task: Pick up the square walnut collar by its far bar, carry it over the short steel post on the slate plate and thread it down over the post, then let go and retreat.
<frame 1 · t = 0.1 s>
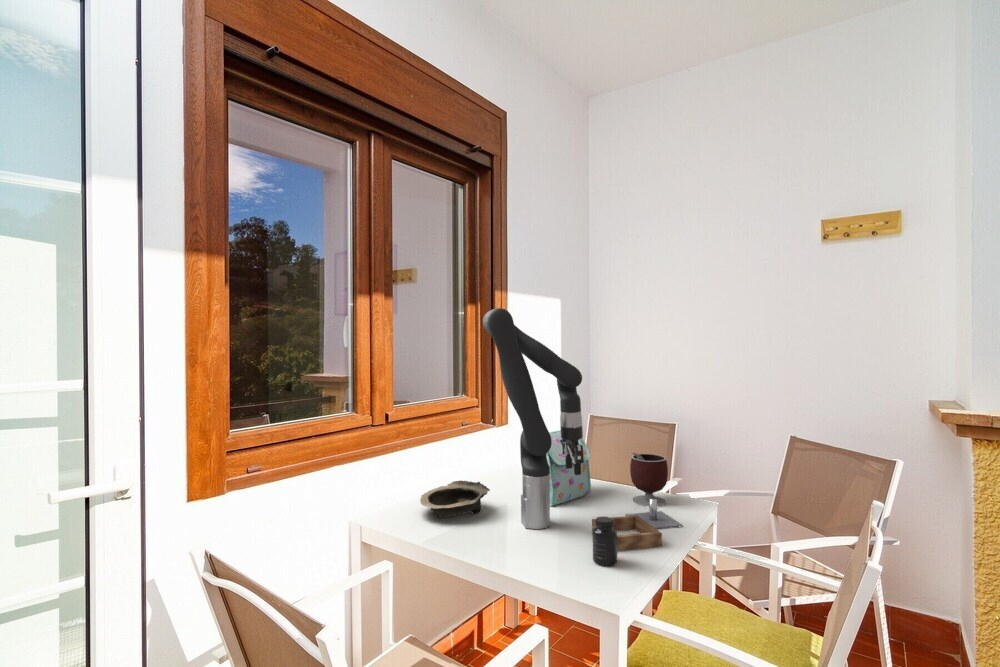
hand: (573, 471, 176), 17 cm above the table, tool pointing down, fingers open, 8 cm apart
stone bowl: (453, 513, 186), on the table
walnut collar: (625, 538, 161), on the table
mate gourd: (647, 502, 196), on the table
lunch bag: (559, 498, 202), on the table
supplement bottle: (604, 562, 144), on the table
steel post: (653, 509, 176), on the slate plate, point 4 cm above the table
slate plate: (653, 521, 176), on the table
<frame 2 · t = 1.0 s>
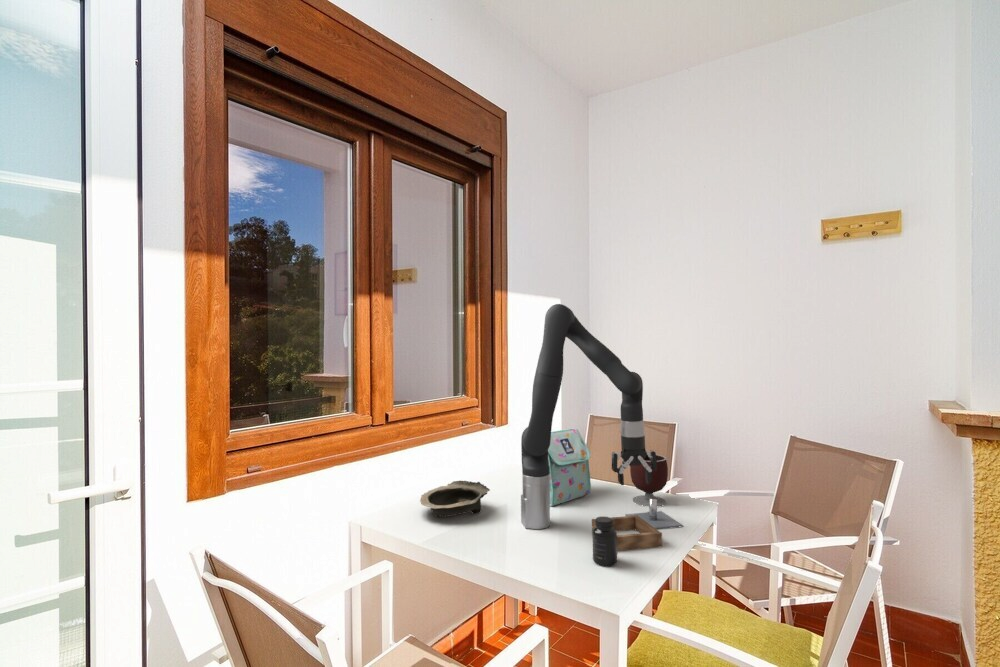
hand: (635, 483, 166), 16 cm above the table, tool pointing down, fingers open, 8 cm apart
nothing on the table moved.
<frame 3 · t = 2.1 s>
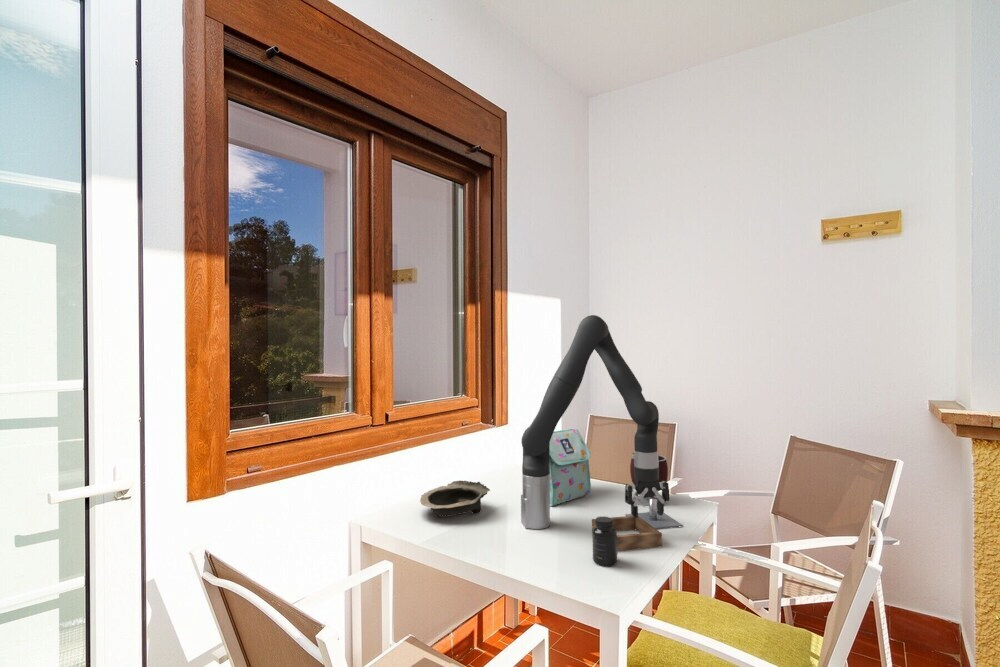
hand: (647, 515, 162), 6 cm above the table, tool pointing down, fingers open, 8 cm apart
nothing on the table moved.
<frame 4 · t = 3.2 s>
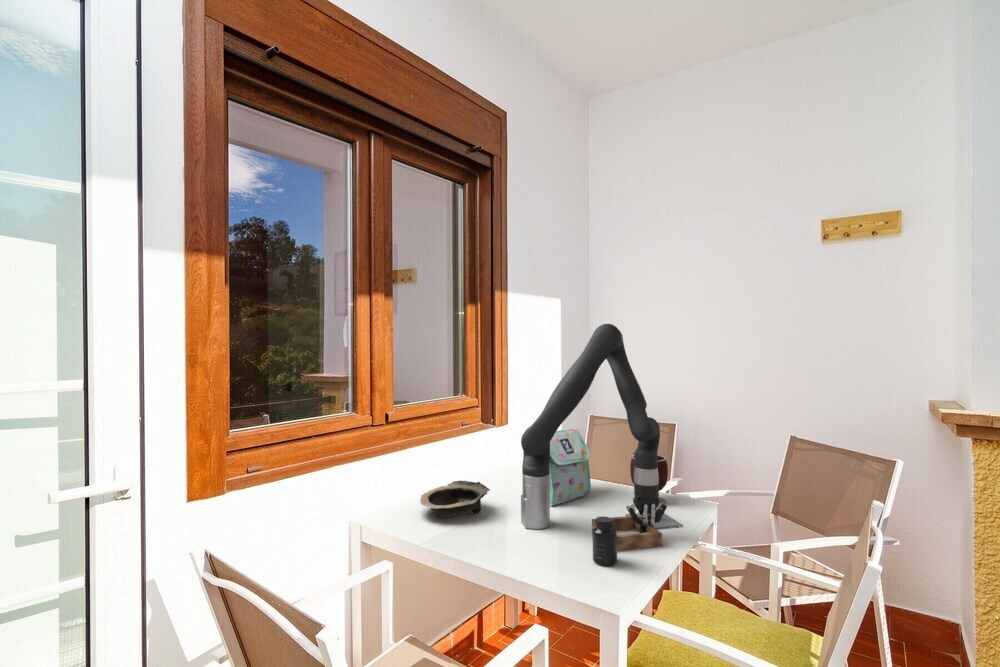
hand: (646, 535, 162), 0 cm above the table, tool pointing down, fingers closed on walnut collar
walnut collar: (625, 538, 161), on the table, touching gripper
everything else where it was.
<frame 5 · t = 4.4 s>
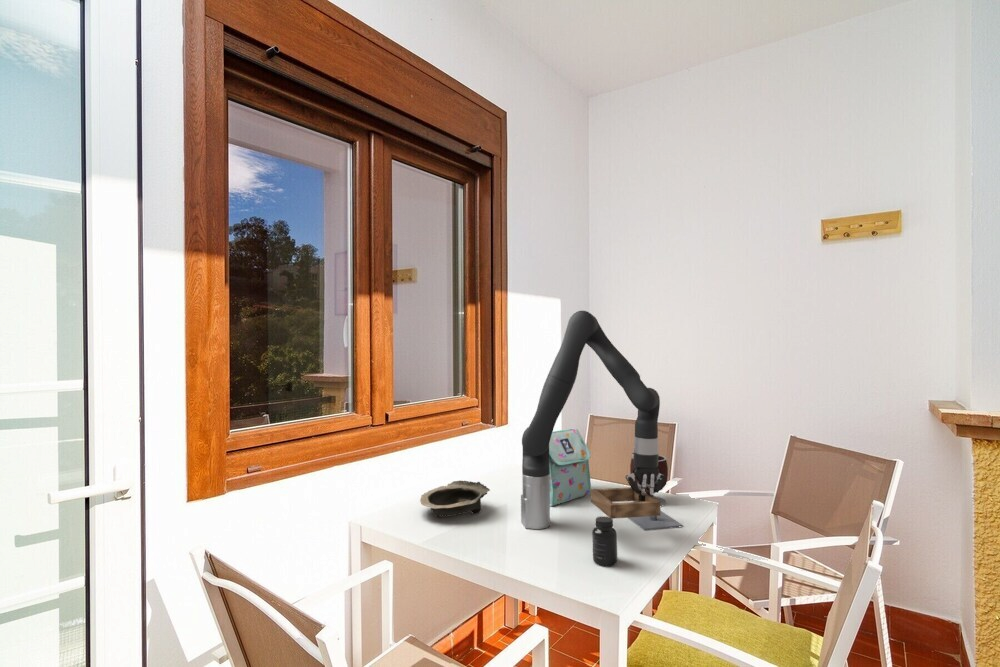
hand: (645, 505, 162), 10 cm above the table, tool pointing down, fingers closed on walnut collar
walnut collar: (624, 508, 161), point 10 cm above the table, touching gripper
everything else where it was.
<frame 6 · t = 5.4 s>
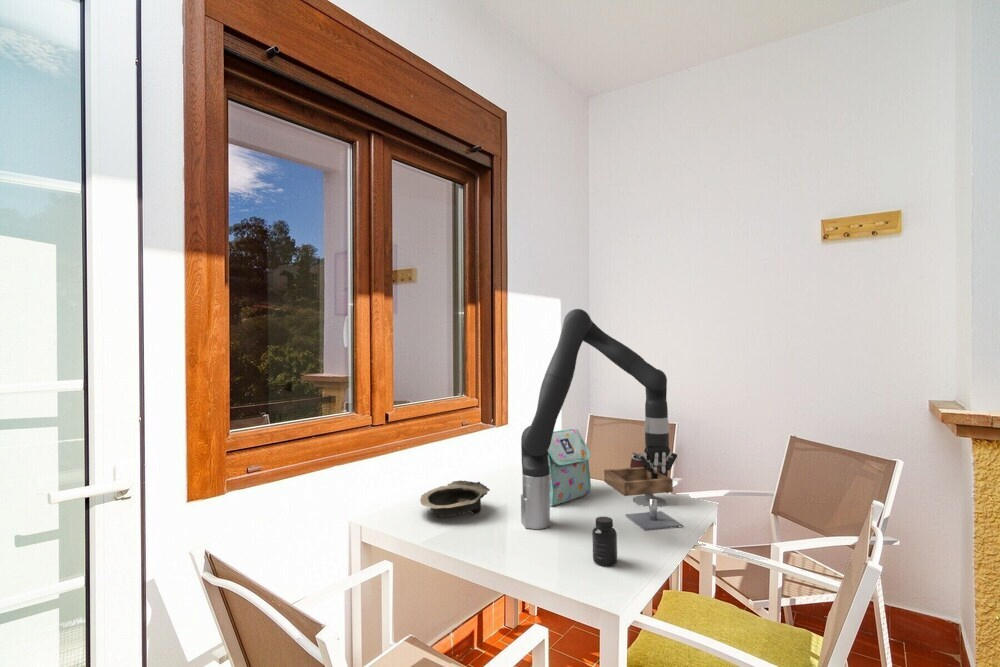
hand: (658, 483, 167), 15 cm above the table, tool pointing down, fingers closed on walnut collar
walnut collar: (637, 486, 165), point 15 cm above the table, touching gripper
everything else where it was.
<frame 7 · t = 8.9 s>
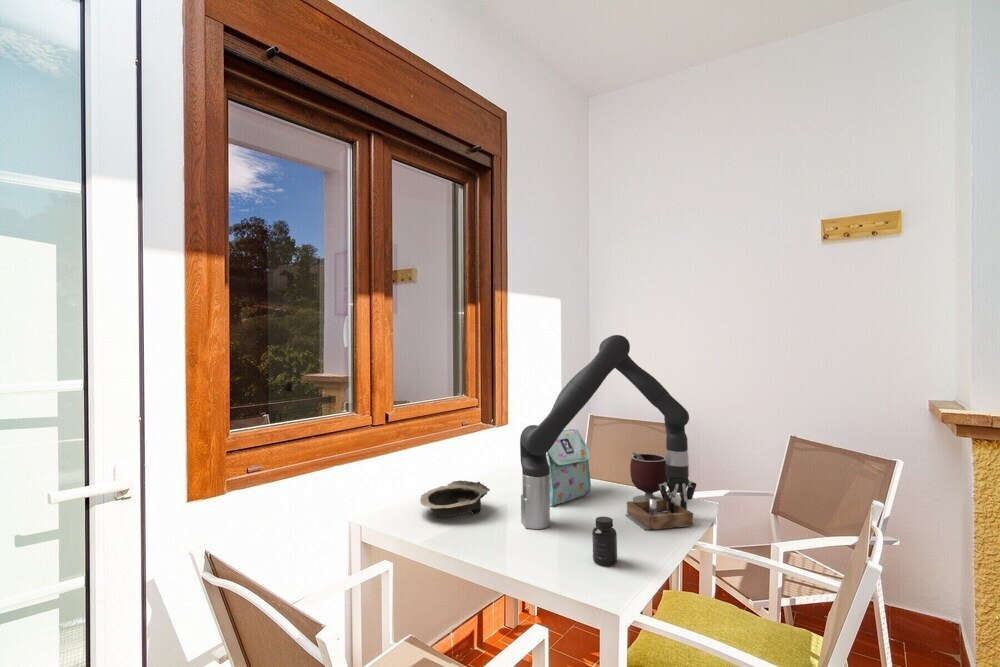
hand: (677, 512, 178), 2 cm above the table, tool pointing down, fingers open, 3 cm apart
walnut collar: (658, 518, 176), point 1 cm above the table, touching slate plate
everything else where it was.
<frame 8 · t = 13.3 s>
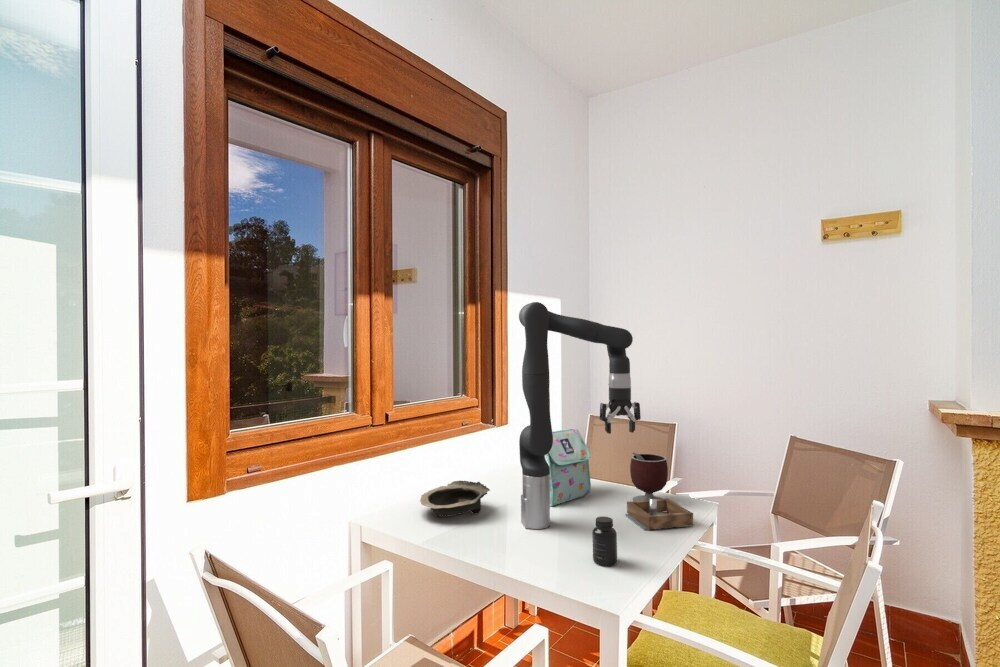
hand: (620, 432, 178), 30 cm above the table, tool pointing down, fingers open, 8 cm apart
nothing on the table moved.
at the end: walnut collar inside the target area on the steel post (2.1 cm from its centre), point 0.6 cm above the steel post's base; walnut collar tilted 0°; the gripper is holding nothing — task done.
